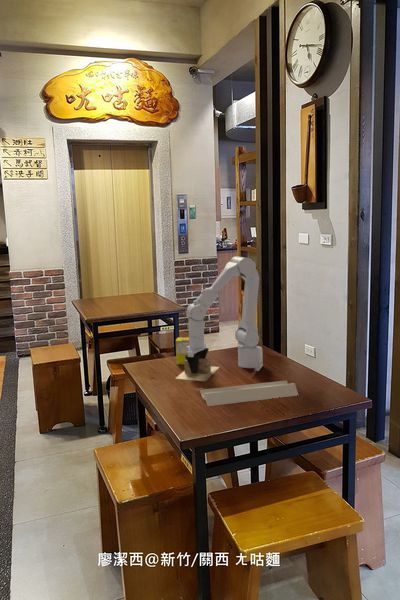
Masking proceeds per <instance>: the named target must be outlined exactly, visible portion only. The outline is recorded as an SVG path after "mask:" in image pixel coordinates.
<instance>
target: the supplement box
mask: <svg viewBox="0 0 400 600" xmlns="http://www.w3.org/2000/svg"><path fill="white" fill-rule="evenodd" d="M187 346H189V336H183V337H182V336H179V337H177V338H176V339H175V354H176V355H175V357H176V365H184V361H185V360H186V358H185V355H187V354H188V351H189V349H187Z"/></svg>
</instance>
